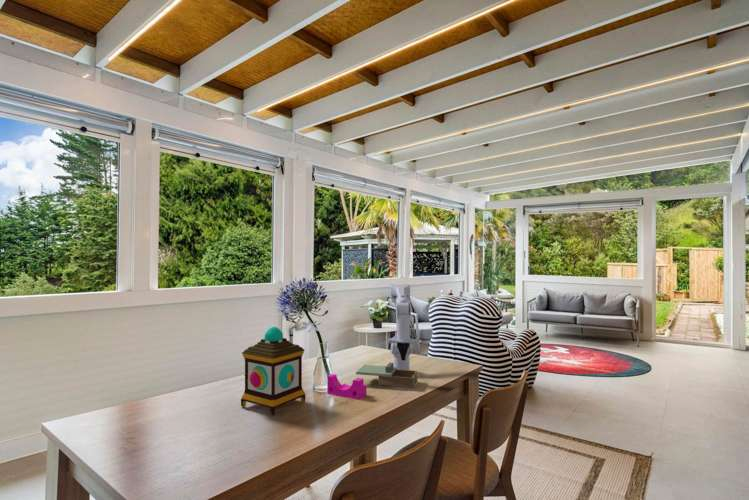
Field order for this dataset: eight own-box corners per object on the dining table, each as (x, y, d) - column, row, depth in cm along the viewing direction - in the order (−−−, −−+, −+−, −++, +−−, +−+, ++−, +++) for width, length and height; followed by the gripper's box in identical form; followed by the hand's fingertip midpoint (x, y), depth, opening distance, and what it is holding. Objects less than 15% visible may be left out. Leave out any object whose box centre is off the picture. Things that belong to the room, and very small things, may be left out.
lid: (364, 366, 199) (364, 359, 199) (396, 369, 195) (396, 361, 195) (356, 374, 186) (356, 366, 186) (390, 376, 182) (390, 368, 182)
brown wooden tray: (385, 379, 196) (385, 368, 196) (417, 382, 192) (417, 370, 192) (378, 387, 184) (378, 375, 184) (412, 390, 180) (412, 378, 180)
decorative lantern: (272, 419, 149) (272, 333, 149) (235, 408, 160) (235, 327, 160) (310, 402, 166) (310, 325, 166) (274, 393, 176) (274, 320, 177)
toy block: (366, 395, 174) (366, 377, 174) (358, 400, 169) (358, 381, 169) (335, 390, 181) (335, 372, 181) (327, 394, 176) (327, 376, 176)
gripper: (385, 330, 188) (385, 361, 188) (417, 331, 185) (418, 363, 184) (389, 327, 195) (389, 357, 195) (420, 329, 191) (420, 359, 191)
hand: (403, 360), depth 190 cm, fingers closed
